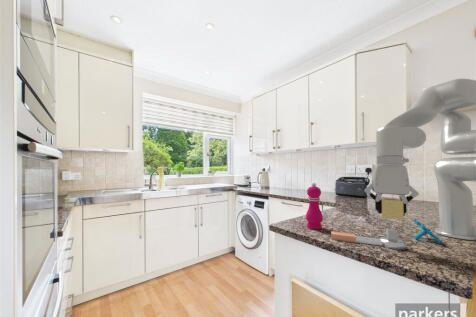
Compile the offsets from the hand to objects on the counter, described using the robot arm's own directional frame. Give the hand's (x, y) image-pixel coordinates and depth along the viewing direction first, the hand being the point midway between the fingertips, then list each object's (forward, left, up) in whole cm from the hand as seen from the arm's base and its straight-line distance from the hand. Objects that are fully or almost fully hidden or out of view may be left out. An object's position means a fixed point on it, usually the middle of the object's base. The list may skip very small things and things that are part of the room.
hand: (390, 213), depth 69 cm
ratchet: (+7, -1, -11) cm, 13 cm away
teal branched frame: (-14, -14, -12) cm, 22 cm away
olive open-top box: (0, 0, -1) cm, 1 cm away
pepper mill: (+26, -11, -11) cm, 30 cm away
